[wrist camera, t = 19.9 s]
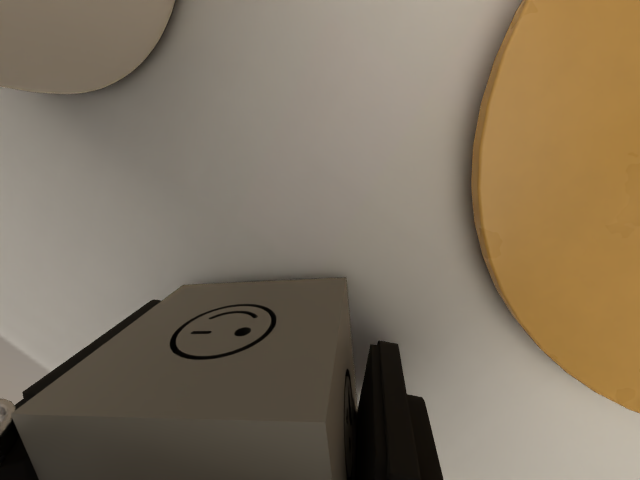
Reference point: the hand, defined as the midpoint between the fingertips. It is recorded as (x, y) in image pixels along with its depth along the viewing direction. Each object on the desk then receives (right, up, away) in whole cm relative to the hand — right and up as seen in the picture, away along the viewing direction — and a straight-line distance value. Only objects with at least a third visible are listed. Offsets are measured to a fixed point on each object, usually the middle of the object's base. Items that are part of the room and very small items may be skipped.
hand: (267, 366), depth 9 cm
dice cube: (0, 0, +1) cm, 1 cm away
